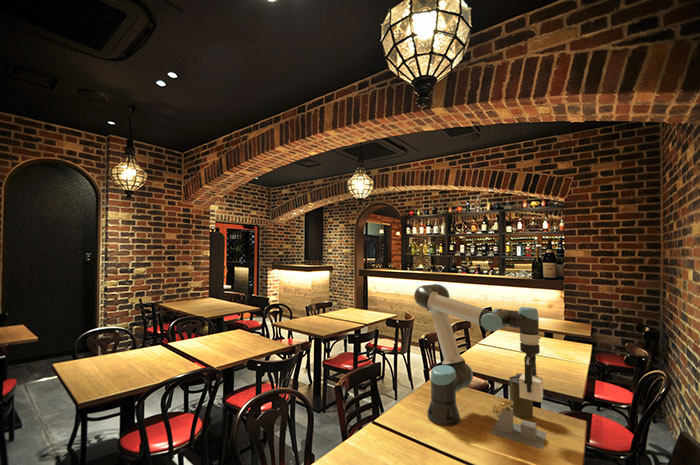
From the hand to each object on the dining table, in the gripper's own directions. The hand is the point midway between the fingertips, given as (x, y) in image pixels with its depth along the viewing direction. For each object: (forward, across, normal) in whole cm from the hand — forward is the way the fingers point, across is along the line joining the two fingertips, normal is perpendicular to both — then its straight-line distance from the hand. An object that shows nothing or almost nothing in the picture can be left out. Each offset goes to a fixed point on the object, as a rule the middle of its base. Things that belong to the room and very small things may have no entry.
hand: (531, 396), depth 145 cm
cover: (0, 0, 0) cm, 0 cm away
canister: (+18, +20, +8) cm, 27 cm away
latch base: (+17, -1, +5) cm, 18 cm away
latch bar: (+7, -7, +11) cm, 15 cm away
